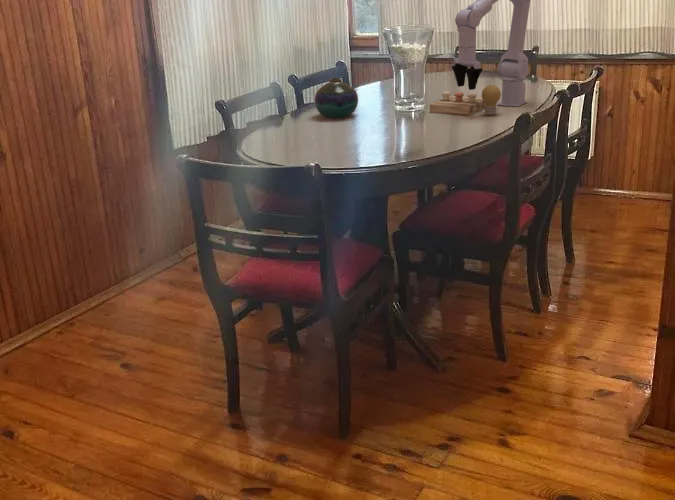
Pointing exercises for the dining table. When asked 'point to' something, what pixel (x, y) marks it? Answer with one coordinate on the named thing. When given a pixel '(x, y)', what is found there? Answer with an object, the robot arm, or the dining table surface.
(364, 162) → the dining table surface
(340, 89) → the vase
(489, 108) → the light bulb
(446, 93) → the plug far
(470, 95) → the plug near
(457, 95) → the plug mid
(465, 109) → the socket board
